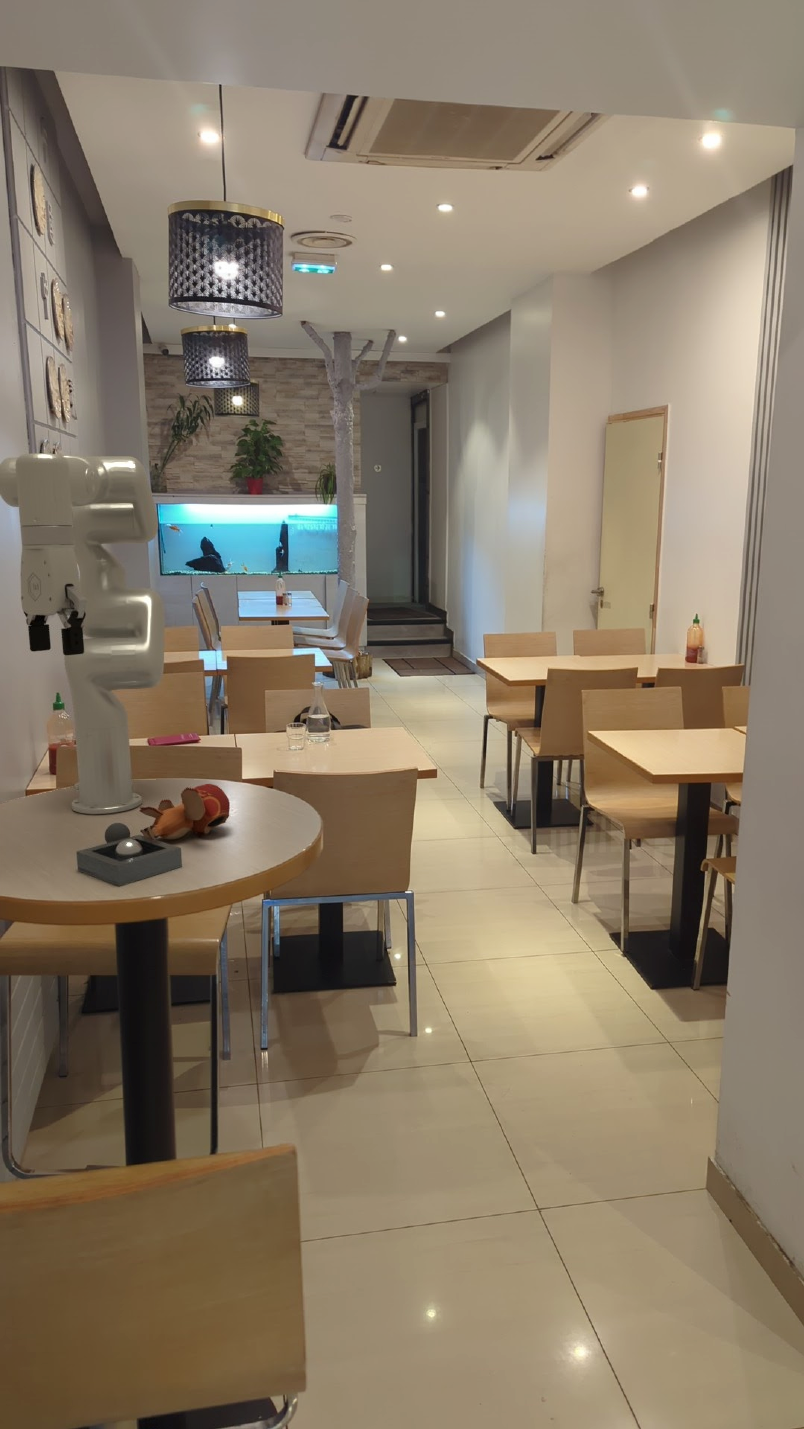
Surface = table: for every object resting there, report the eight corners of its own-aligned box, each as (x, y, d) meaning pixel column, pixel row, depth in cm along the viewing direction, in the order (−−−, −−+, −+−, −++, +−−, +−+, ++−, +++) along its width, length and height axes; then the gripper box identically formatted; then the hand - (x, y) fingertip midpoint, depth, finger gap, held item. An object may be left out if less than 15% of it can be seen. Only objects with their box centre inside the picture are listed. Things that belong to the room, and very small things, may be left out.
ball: (100, 847, 158) (98, 823, 158) (122, 841, 161) (120, 818, 161) (114, 852, 156) (112, 828, 155) (135, 846, 159) (134, 822, 158)
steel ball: (110, 864, 147) (109, 839, 146) (133, 857, 150) (132, 833, 149) (125, 872, 145) (124, 847, 144) (148, 864, 148) (147, 840, 147)
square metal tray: (77, 870, 147) (76, 851, 147) (140, 852, 155) (139, 834, 155) (118, 886, 140) (117, 866, 139) (182, 866, 148) (181, 847, 148)
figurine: (179, 850, 151) (259, 812, 159) (155, 799, 151) (237, 763, 159) (140, 864, 167) (215, 828, 175) (118, 818, 167) (194, 784, 175)
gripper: (-4, 540, 149) (5, 651, 152) (54, 538, 138) (64, 658, 141) (42, 539, 154) (50, 647, 157) (101, 537, 143) (109, 653, 146)
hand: (56, 652), depth 149 cm, fingers open, 9 cm apart
